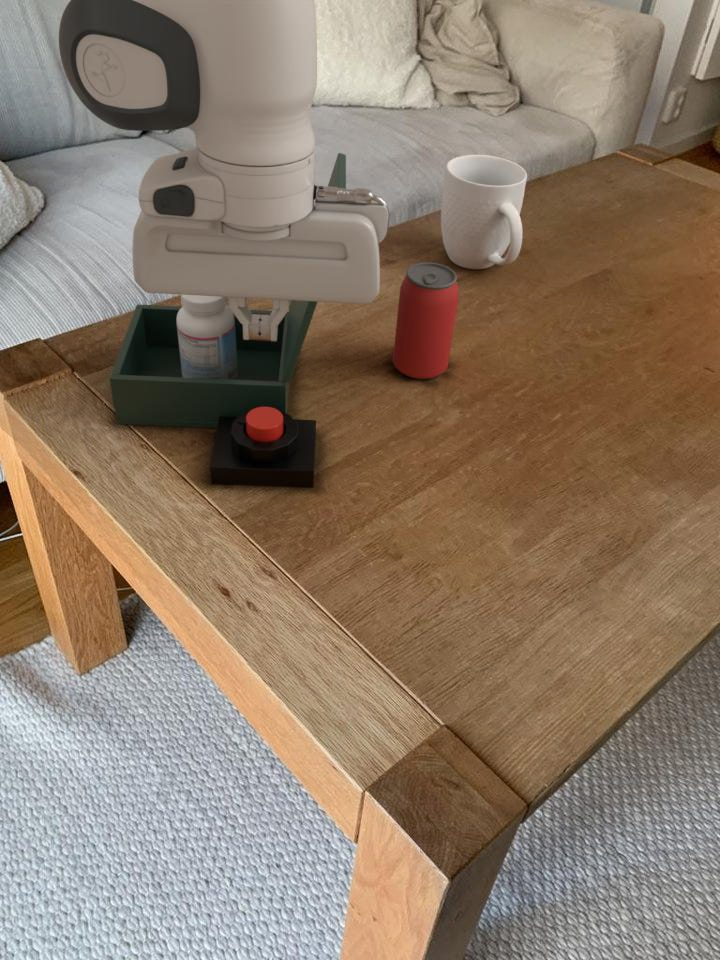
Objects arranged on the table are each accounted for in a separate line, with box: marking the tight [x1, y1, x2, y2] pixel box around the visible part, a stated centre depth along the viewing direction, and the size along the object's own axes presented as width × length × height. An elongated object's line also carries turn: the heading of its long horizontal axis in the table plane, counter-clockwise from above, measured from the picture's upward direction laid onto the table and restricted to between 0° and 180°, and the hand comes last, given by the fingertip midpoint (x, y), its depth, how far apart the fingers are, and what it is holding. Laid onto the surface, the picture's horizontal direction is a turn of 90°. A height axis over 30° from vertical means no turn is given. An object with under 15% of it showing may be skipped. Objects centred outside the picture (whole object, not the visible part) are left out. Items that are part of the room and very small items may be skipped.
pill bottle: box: [176, 294, 238, 380], centre depth 87 cm, size 6×6×11 cm
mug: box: [440, 154, 528, 270], centre depth 113 cm, size 15×11×13 cm
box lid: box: [282, 152, 375, 384], centre depth 82 cm, size 18×15×5 cm
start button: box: [246, 407, 283, 442], centre depth 80 cm, size 4×4×2 cm
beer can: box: [392, 261, 460, 380], centre depth 93 cm, size 7×7×12 cm
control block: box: [209, 410, 317, 488], centre depth 82 cm, size 10×8×4 cm
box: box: [109, 304, 291, 429], centre depth 90 cm, size 18×15×6 cm
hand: (260, 337), depth 72 cm, fingers closed
